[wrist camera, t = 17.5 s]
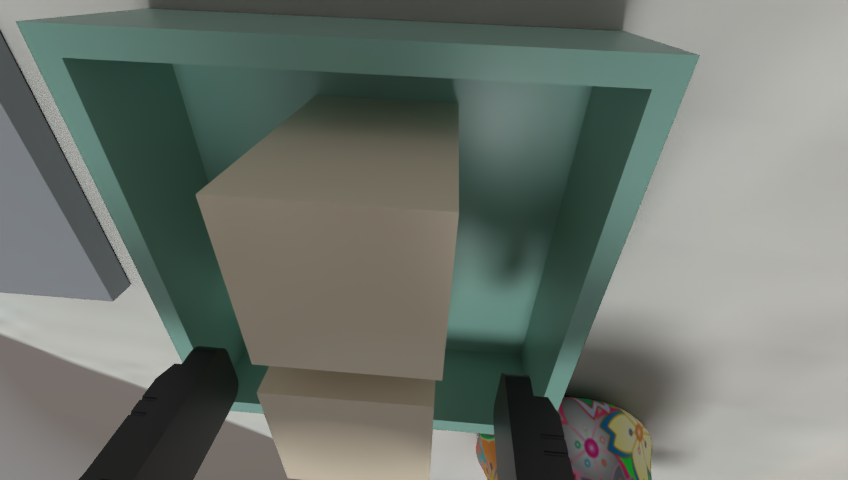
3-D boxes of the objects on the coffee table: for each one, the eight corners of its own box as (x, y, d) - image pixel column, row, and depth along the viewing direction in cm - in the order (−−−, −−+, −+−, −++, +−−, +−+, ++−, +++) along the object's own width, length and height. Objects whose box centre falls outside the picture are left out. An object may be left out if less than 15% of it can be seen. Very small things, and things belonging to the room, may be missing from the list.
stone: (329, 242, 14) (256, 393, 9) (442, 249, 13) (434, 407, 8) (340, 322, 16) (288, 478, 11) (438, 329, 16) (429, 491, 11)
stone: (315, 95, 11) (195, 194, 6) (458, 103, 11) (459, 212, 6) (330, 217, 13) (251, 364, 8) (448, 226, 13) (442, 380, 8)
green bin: (149, 8, 10) (15, 21, 7) (623, 30, 10) (699, 55, 7) (250, 331, 18) (204, 408, 14) (530, 354, 17) (546, 439, 14)
